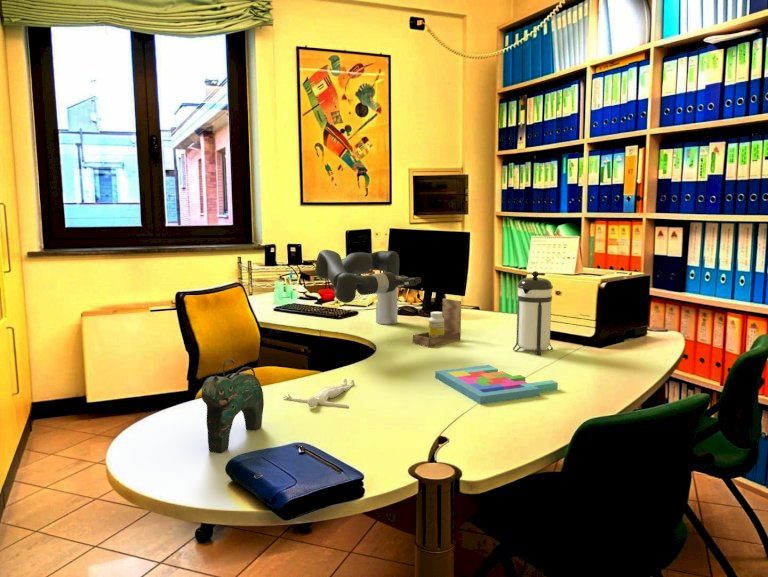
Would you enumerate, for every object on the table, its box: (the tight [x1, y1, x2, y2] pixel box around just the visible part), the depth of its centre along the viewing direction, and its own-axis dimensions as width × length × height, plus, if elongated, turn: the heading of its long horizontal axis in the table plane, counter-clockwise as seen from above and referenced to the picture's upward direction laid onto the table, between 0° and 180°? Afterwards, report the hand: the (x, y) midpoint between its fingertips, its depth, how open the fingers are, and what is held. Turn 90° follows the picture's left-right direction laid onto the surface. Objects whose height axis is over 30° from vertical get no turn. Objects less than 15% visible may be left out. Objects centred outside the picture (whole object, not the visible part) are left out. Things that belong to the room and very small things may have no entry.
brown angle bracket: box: [412, 298, 462, 348], centre depth 246 cm, size 9×18×16 cm, turn 132°
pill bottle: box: [428, 311, 444, 338], centre depth 247 cm, size 6×6×11 cm
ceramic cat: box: [201, 358, 265, 454], centre depth 145 cm, size 20×6×20 cm, turn 158°
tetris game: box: [434, 364, 559, 405], centre depth 189 cm, size 28×3×28 cm
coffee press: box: [512, 270, 554, 356], centre depth 231 cm, size 17×16×30 cm
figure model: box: [282, 378, 355, 409], centre depth 179 cm, size 21×4×25 cm
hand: (412, 279), depth 240 cm, fingers open, 8 cm apart
